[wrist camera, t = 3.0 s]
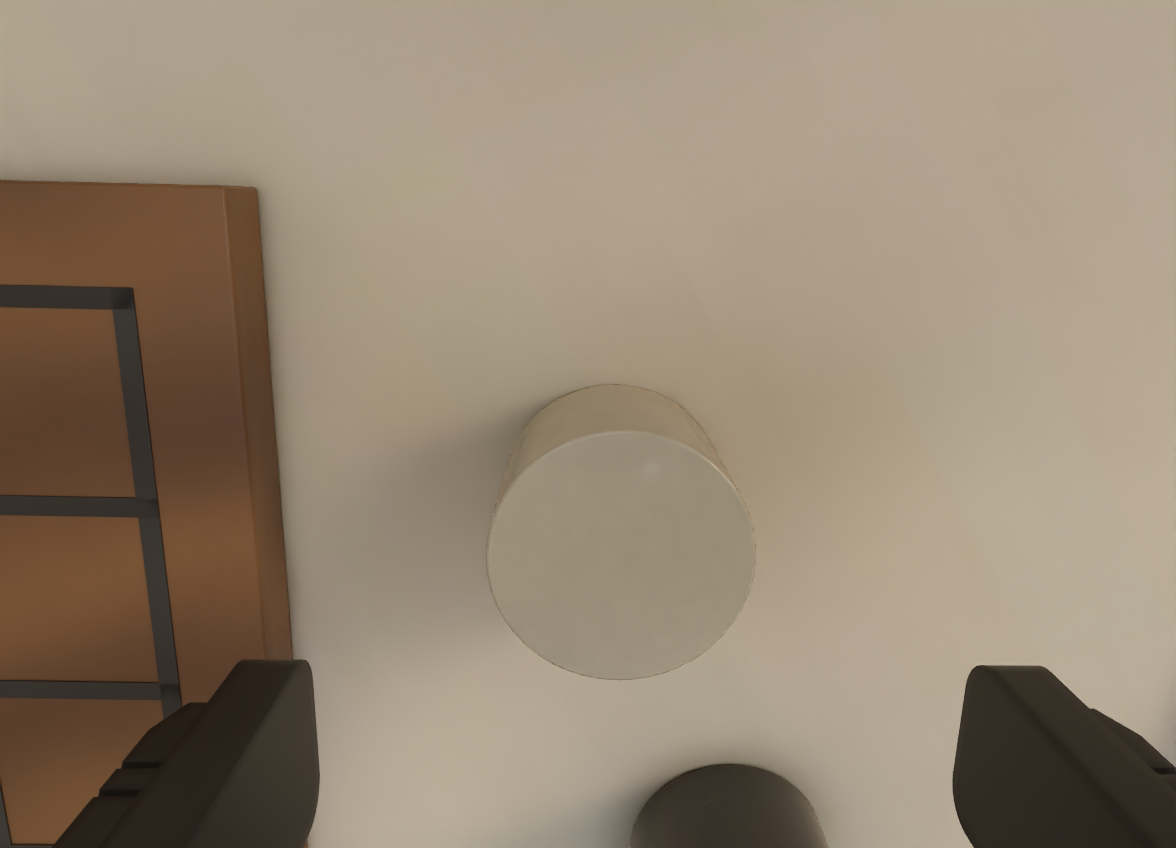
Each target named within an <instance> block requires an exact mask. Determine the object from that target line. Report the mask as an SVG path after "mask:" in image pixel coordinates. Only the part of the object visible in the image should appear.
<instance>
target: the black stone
mask: <svg viewBox="0 0 1176 848" xmlns="http://www.w3.org/2000/svg"><path fill="white" fill-rule="evenodd" d="M630 848H829V846H828V844H827V841H826V839H825V836H824V834H823V831H822V828H821V826H820V823H819V821H818V818H817V816H816V814H815V812H814V810H813V808H812V806H811V805H810V803H809V802H808V800H807V799H806V798H805V797H804V795H803V794H802V793H801V792H800V791H799V790H798V789H796V788H795V787H794V786H793V785H792V784H790V783H789V782H787V781H786V780H784V779H783V778H781V777H779V776H777V775H775V774H773V773H770V772H768V771H765V770H762V769H758V768H754V767H749V766H741V765H719V766H712V767H706V768H702V769H699V770H695V771H692V772H690V773H687V774H685V775H682V776H681V777H679V778H677V779H675V780H673V781H671V782H670V783H669V784H667V785H666V786H664V787H663V788H661V789H660V790H659V791H658V792H657V793H656V794H655V795H654V796H653V797H652V798H651V799H650V800H649V802H648V803H647V804H646V805H645V807H644V808H643V810H642V811H641V813H640V814H639V816H638V819H637V821H636V823H635V825H634V829H633V832H632V836H631V843H630Z"/></svg>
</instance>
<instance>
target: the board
mask: <svg viewBox="0 0 1176 848" xmlns="http://www.w3.org/2000/svg"><path fill="white" fill-rule="evenodd" d="M244 659H260V660H293V658H292V645H291V632H290V619H289V606H288V593H287V580H286V567H285V554H284V541H283V528H282V515H281V502H280V489H279V476H278V463H277V450H276V437H275V424H274V411H273V398H272V385H271V372H270V359H269V346H268V333H267V320H266V307H265V294H264V281H263V268H262V255H261V242H260V229H259V216H258V203H257V191H256V189H255V188H253V187H239V186H219V185H178V184H138V183H98V182H58V181H18V180H0V848H51V847H52V846H53V845H54V844H55V842H56V841H57V840H58V839H59V838H60V836H61V835H62V834H63V833H64V832H65V830H66V829H67V828H68V827H69V826H70V824H71V823H72V822H73V821H74V819H75V818H76V817H77V816H78V815H79V813H80V812H81V811H82V810H83V809H84V807H85V806H86V805H87V804H88V803H89V801H90V800H91V799H92V798H93V797H98V795H99V789H100V788H101V787H102V786H103V784H104V783H105V782H106V781H107V780H108V778H109V777H110V776H111V775H112V773H113V772H114V771H115V770H116V769H117V768H118V769H121V767H122V761H123V760H124V759H125V758H126V757H127V755H128V754H129V753H130V752H131V750H132V749H133V748H134V747H135V746H136V744H137V743H138V742H139V741H140V740H141V738H142V737H143V736H144V735H145V734H146V732H147V731H148V730H149V729H150V728H152V727H153V726H155V725H156V724H158V723H159V722H161V721H162V720H164V719H165V718H167V717H168V716H170V715H171V714H173V713H174V712H176V711H177V710H179V709H180V708H182V707H183V706H185V705H186V704H188V703H189V702H208V701H209V700H210V698H211V697H212V696H213V694H214V693H215V692H216V690H217V689H218V688H219V686H220V685H221V684H222V682H223V681H224V680H225V678H226V677H227V676H228V674H229V673H230V672H231V670H232V669H233V668H234V666H235V665H236V664H237V663H238V662H239V661H241V660H244ZM303 848H307V840H306V842H305V844H304V846H303Z"/></svg>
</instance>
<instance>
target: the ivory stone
mask: <svg viewBox="0 0 1176 848" xmlns="http://www.w3.org/2000/svg"><path fill="white" fill-rule="evenodd" d="M755 562H756V544H755V537H754V529H753V526H752V522H751V519H750V515H749V512H748V510H747V508H746V505H745V503H744V501H743V499H742V497H741V495H740V493H739V491H738V490H737V488H736V486H735V484H734V482H733V481H732V479H731V477H730V475H729V473H728V472H727V470H726V468H725V466H724V465H723V463H722V461H721V459H720V457H719V456H718V454H717V452H716V450H715V448H714V447H713V445H712V443H711V441H710V440H709V438H708V436H707V435H706V433H705V431H704V430H703V428H702V427H701V426H700V425H699V424H698V422H697V421H696V420H695V419H694V418H693V417H692V416H691V415H690V414H689V413H688V412H687V411H686V410H685V409H683V408H682V407H681V406H679V405H678V404H676V403H675V402H673V401H672V400H670V399H668V398H666V397H664V396H662V395H660V394H658V393H655V392H652V391H650V390H647V389H643V388H639V387H634V386H627V385H600V386H594V387H588V388H585V389H581V390H578V391H575V392H572V393H570V394H568V395H565V396H563V397H561V398H559V399H558V400H556V401H554V402H553V403H551V404H550V405H548V406H547V407H545V408H544V409H543V410H542V411H540V412H539V413H538V414H537V415H536V416H535V417H534V418H533V419H532V420H531V421H530V422H529V423H528V424H527V426H526V427H525V428H524V430H523V431H522V433H521V434H520V435H519V437H518V439H517V441H516V443H515V445H514V446H513V448H512V451H511V454H510V456H509V459H508V462H507V465H506V469H505V473H504V476H503V480H502V483H501V487H500V491H499V494H498V498H497V502H496V505H495V509H494V512H493V516H492V520H491V523H490V527H489V532H488V537H487V544H486V568H487V576H488V581H489V585H490V590H491V592H492V595H493V598H494V600H495V603H496V605H497V607H498V609H499V611H500V613H501V615H502V616H503V618H504V620H505V621H506V623H507V624H508V625H509V627H510V628H511V629H512V631H513V632H514V633H515V634H516V635H517V636H518V637H519V638H520V639H521V641H522V642H523V643H524V644H525V645H527V646H528V647H529V648H530V649H531V650H533V651H534V652H535V653H536V654H538V655H539V656H541V657H542V658H544V659H546V660H547V661H549V662H551V663H552V664H554V665H556V666H559V667H561V668H563V669H565V670H567V671H570V672H574V673H577V674H580V675H583V676H588V677H593V678H598V679H609V680H629V679H639V678H645V677H651V676H654V675H658V674H661V673H665V672H668V671H670V670H673V669H675V668H677V667H680V666H682V665H684V664H686V663H688V662H689V661H691V660H693V659H695V658H696V657H698V656H699V655H701V654H702V653H703V652H705V651H706V650H707V649H709V648H710V647H711V646H712V645H713V644H714V643H715V642H716V641H718V640H719V639H720V638H721V637H722V636H723V634H724V633H725V632H726V631H727V630H728V628H729V627H730V626H731V625H732V624H733V622H734V620H735V619H736V617H737V616H738V614H739V612H740V611H741V609H742V607H743V605H744V603H745V600H746V598H747V596H748V594H749V590H750V587H751V584H752V580H753V575H754V569H755Z"/></svg>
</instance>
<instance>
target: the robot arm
mask: <svg viewBox="0 0 1176 848" xmlns="http://www.w3.org/2000/svg"><path fill="white" fill-rule="evenodd" d="M319 782H320V772H319V757H318V743H317V730H316V716H315V703H314V689H313V677H312V671H311V668H310V665H309V663H308V662H307V661H306V660H260V659H244V660H241V661H239V662H238V663H237V664H236V665H235V666H234V668H233V669H232V670H231V672H230V673H229V674H228V676H227V677H226V678H225V680H224V681H223V682H222V684H221V685H220V686H219V688H218V689H217V690H216V692H215V693H214V694H213V696H212V697H211V698H210V700H209V701H208V702H189V703H188V704H186V705H185V706H183V707H182V708H180V709H179V710H177V711H176V712H174V713H173V714H171V715H170V716H168V717H167V718H165V719H164V720H162V721H161V722H159V723H158V724H156V725H155V726H153V727H152V728H150V729H149V730H148V731H147V732H146V734H145V735H144V736H143V737H142V738H141V740H140V741H139V742H138V743H137V744H136V746H135V747H134V748H133V749H132V750H131V752H130V753H129V754H128V755H127V757H126V758H125V759H124V760H123V761H122V767H121V769H118V768H117V769H116V770H115V771H114V772H113V773H112V775H111V776H110V777H109V778H108V780H107V781H106V782H105V783H104V784H103V786H102V787H101V788H100V789H99V795H98V797H93V798H92V799H91V800H90V801H89V803H88V804H87V805H86V806H85V807H84V809H83V810H82V811H81V812H80V813H79V815H78V816H77V817H76V818H75V819H74V821H73V822H72V823H71V824H70V826H69V827H68V828H67V829H66V830H65V832H64V833H63V834H62V835H61V836H60V838H59V839H58V840H57V841H56V842H55V844H54V845H53V846H52V847H51V848H303V846H304V844H305V842H306V839H307V837H308V835H309V832H310V830H311V827H312V824H313V821H314V817H315V813H316V808H317V802H318V794H319ZM953 796H954V803H955V807H956V811H957V815H958V818H959V821H960V824H961V826H962V828H963V830H964V832H965V834H966V836H967V837H968V839H969V840H970V842H971V844H972V845H973V847H974V848H1176V768H1175V767H1174V766H1173V765H1172V764H1171V763H1170V762H1169V761H1168V760H1167V759H1166V758H1164V757H1163V756H1162V755H1161V754H1160V753H1159V752H1158V751H1157V750H1156V749H1155V748H1154V747H1152V746H1151V745H1150V744H1149V743H1148V742H1147V741H1146V740H1145V739H1144V738H1143V737H1142V736H1140V735H1139V734H1137V733H1135V732H1133V731H1132V730H1130V729H1128V728H1127V727H1125V726H1123V725H1121V724H1120V723H1118V722H1116V721H1114V720H1113V719H1111V718H1109V717H1108V716H1106V715H1104V714H1102V713H1101V712H1099V711H1097V710H1095V709H1089V708H1088V707H1087V706H1086V705H1085V704H1084V703H1083V702H1082V701H1081V700H1080V699H1079V698H1078V697H1076V696H1075V695H1074V694H1073V693H1072V692H1071V691H1070V690H1069V689H1068V688H1067V687H1066V686H1065V685H1064V684H1063V683H1062V682H1061V681H1060V680H1059V679H1058V678H1057V677H1056V676H1055V675H1053V674H1052V673H1051V672H1050V671H1049V670H1048V669H1046V668H1044V667H1042V666H988V665H980V666H976V667H975V668H973V669H972V671H971V672H970V674H969V676H968V679H967V683H966V688H965V695H964V702H963V709H962V716H961V722H960V729H959V736H958V743H957V750H956V757H955V764H954V771H953Z"/></svg>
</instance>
